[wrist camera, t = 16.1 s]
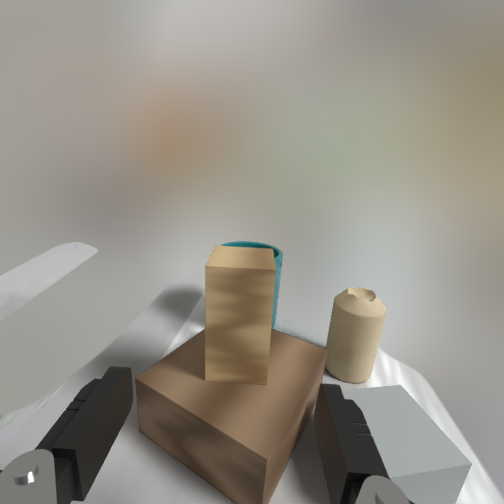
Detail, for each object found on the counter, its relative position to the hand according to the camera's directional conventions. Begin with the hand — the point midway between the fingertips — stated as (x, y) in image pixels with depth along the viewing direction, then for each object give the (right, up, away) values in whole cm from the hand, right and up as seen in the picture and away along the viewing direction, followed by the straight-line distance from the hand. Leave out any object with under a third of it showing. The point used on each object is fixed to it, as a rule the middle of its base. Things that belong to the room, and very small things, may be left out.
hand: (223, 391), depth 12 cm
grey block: (+11, -12, +11) cm, 20 cm away
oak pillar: (0, -4, +13) cm, 14 cm away
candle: (+13, -8, +22) cm, 27 cm away
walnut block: (0, -10, +15) cm, 18 cm away
